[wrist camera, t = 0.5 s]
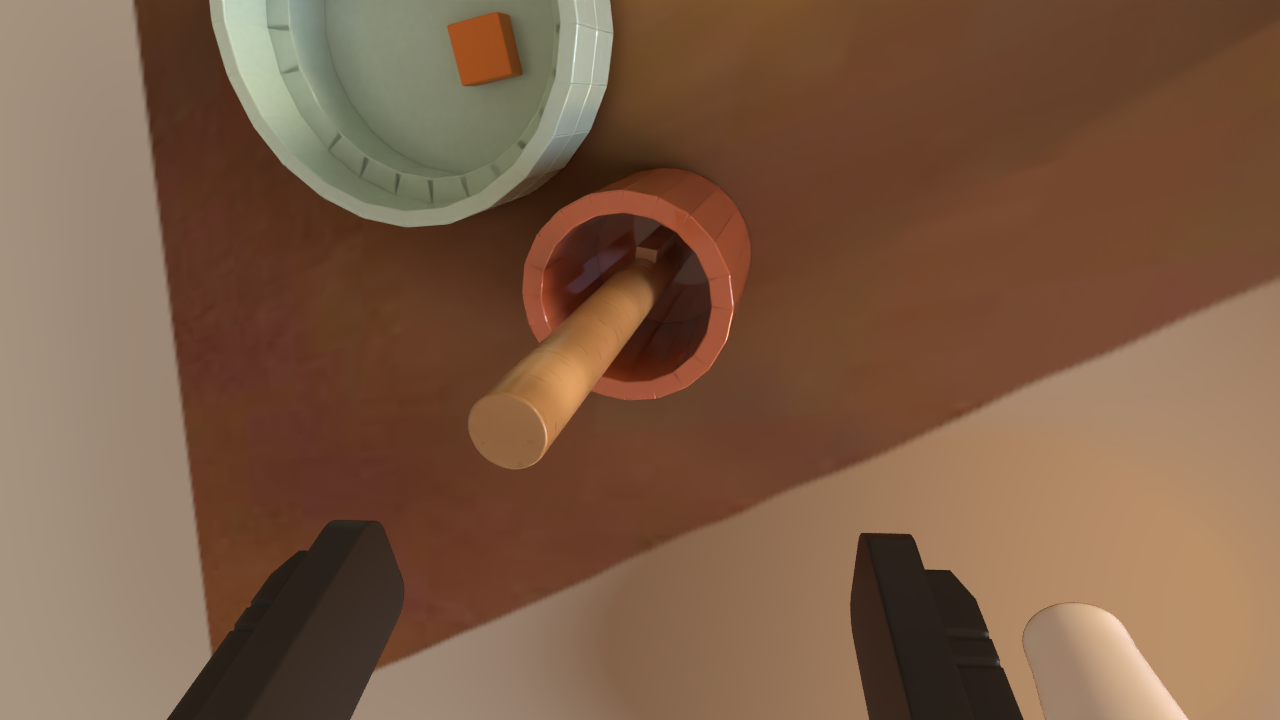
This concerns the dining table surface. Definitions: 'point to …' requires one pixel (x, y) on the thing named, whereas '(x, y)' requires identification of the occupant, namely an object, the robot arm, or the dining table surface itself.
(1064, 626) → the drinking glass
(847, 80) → the dining table surface
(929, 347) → the dining table surface
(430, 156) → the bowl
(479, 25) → the carrot chunk
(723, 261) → the crock
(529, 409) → the stirring stick
